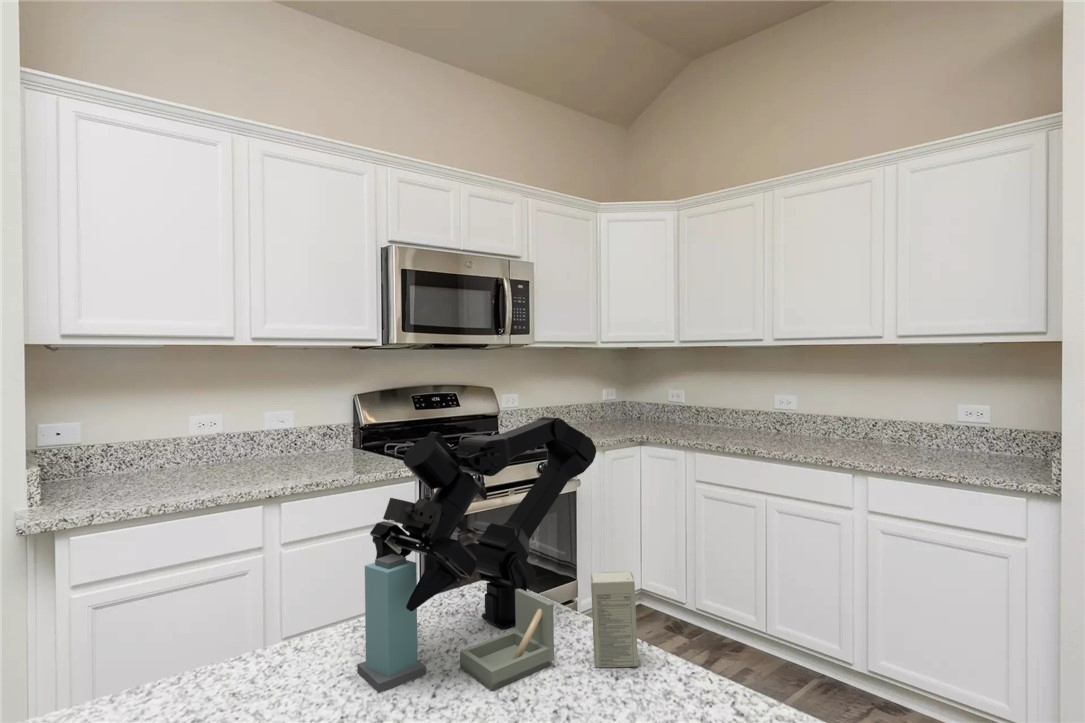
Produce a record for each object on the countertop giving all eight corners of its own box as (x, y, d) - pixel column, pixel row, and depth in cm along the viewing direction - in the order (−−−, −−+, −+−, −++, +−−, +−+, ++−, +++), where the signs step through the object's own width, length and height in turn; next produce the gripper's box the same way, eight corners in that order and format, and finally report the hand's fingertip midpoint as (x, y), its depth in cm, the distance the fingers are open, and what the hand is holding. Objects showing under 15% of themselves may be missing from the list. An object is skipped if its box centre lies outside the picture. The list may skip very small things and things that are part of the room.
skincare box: (634, 653, 88) (633, 570, 88) (638, 668, 84) (637, 580, 84) (591, 653, 88) (590, 570, 89) (593, 668, 84) (591, 581, 84)
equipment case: (520, 644, 91) (519, 588, 92) (554, 663, 85) (553, 603, 85) (459, 668, 85) (459, 607, 85) (492, 691, 78) (491, 625, 79)
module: (394, 652, 87) (393, 550, 87) (417, 662, 84) (416, 557, 84) (365, 666, 83) (364, 560, 83) (388, 677, 80) (387, 566, 80)
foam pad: (403, 656, 88) (403, 648, 88) (426, 674, 83) (426, 666, 83) (357, 672, 84) (357, 664, 84) (378, 693, 78) (378, 683, 78)
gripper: (379, 469, 93) (314, 558, 85) (459, 482, 81) (393, 588, 73) (420, 509, 99) (364, 596, 91) (501, 527, 87) (444, 630, 79)
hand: (388, 601), depth 83 cm, fingers open, 9 cm apart
